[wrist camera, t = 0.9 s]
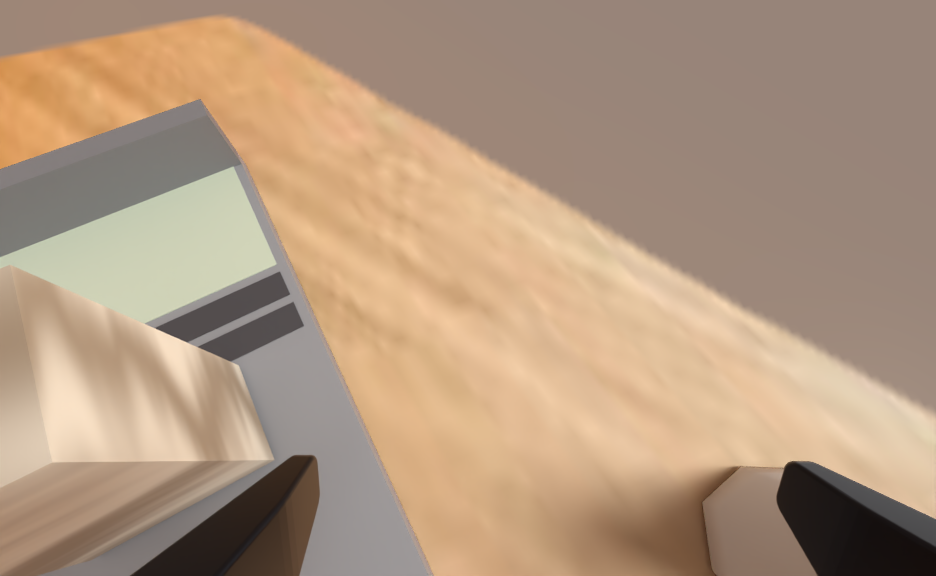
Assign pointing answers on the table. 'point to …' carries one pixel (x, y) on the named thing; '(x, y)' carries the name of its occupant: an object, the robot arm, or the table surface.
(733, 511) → the flask
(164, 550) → the robot arm
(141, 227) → the grey piece
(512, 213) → the table surface
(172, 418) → the maple block
